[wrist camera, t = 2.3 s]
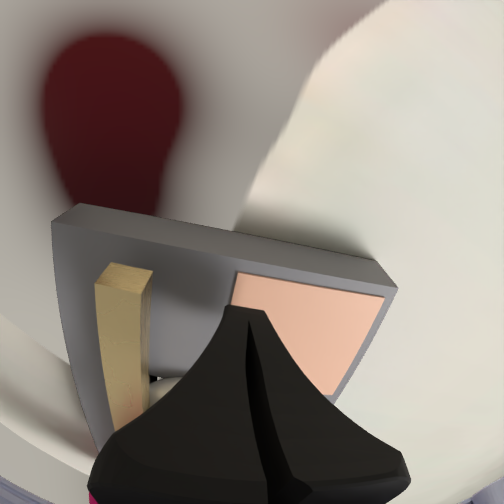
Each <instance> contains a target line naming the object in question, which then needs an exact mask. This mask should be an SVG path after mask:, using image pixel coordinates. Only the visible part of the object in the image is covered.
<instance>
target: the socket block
mask: <svg viewBox="0 0 504 504" xmlns="http://www.w3.org/2000/svg"><path fill="white" fill-rule="evenodd" d="M51 229H52V247H53V261H54V271H55V281H56V290H57V296H58V304H59V311H60V317H61V323H62V328H63V333H64V338H65V343H66V348H67V353H68V356H69V361H70V365H71V369H72V373H73V377H74V381H75V385H76V388H77V392H78V395H79V398H80V402H81V405H82V408H83V411H84V414H85V417H86V420H87V423H88V426H89V429H90V432H91V434H92V437H93V440H94V442H95V445H96V447H97V450H98V452H99V453H100V451H101V449H102V448H103V446H104V445H105V443H106V442H107V440H108V439H109V438H110V436H111V435H112V434H113V433H114V432H115V429H114V424H113V420H112V415H111V411H110V406H109V401H108V396H107V390H106V385H105V379H104V373H103V366H102V359H101V352H100V344H99V335H98V325H97V314H96V301H95V282H96V281H97V279H98V278H99V277H100V275H101V274H102V273H103V272H104V270H105V269H106V268H107V267H108V265H109V264H110V263H111V262H113V263H118V264H122V265H127V266H131V267H136V268H141V269H145V270H150V271H153V278H152V293H151V312H150V342H149V384H151V383H153V382H155V381H157V377H161V378H174V377H183V376H184V375H185V374H186V373H187V372H188V370H189V369H190V368H191V367H192V366H193V364H194V363H195V362H196V361H197V359H198V358H199V357H200V355H201V354H202V352H203V351H204V349H205V348H206V346H207V345H208V344H209V342H210V340H211V339H212V337H213V335H214V333H215V331H216V330H217V328H218V326H219V324H220V321H221V319H222V316H223V311H224V307H225V306H226V305H228V304H230V305H236V306H241V307H247V308H253V309H259V310H264V311H265V313H266V314H267V316H268V318H269V320H270V321H271V323H272V325H273V327H274V329H275V330H276V332H277V334H278V336H279V337H280V339H281V341H282V342H283V344H284V345H285V347H286V349H287V350H288V352H289V353H290V355H291V356H292V358H293V359H294V361H295V362H296V363H297V365H298V366H299V367H300V369H301V370H302V371H303V373H304V374H305V375H306V376H307V378H308V379H309V380H310V381H311V382H312V383H313V384H314V386H315V387H316V388H317V389H318V390H319V391H320V392H321V393H322V394H323V395H324V396H325V397H326V398H327V399H328V400H329V401H330V402H331V403H332V404H333V405H334V403H335V402H336V400H337V399H338V397H339V396H340V394H341V392H342V391H343V389H344V388H345V386H346V384H347V383H348V381H349V380H350V378H351V376H352V375H353V373H354V371H355V370H356V368H357V366H358V365H359V363H360V361H361V359H362V358H363V356H364V354H365V352H366V351H367V349H368V347H369V345H370V344H371V342H372V340H373V338H374V336H375V334H376V332H377V331H378V329H379V327H380V325H381V323H382V321H383V319H384V317H385V315H386V313H387V311H388V309H389V307H390V305H391V303H392V301H393V299H394V297H395V295H396V293H397V290H398V287H397V286H396V284H395V283H394V282H393V281H392V279H391V278H390V277H389V276H388V274H387V273H386V272H385V271H384V269H383V268H382V267H381V266H380V265H379V263H378V262H377V261H373V260H369V259H364V258H360V257H355V256H350V255H346V254H341V253H336V252H331V251H327V250H322V249H317V248H312V247H308V246H303V245H298V244H293V243H288V242H283V241H278V240H273V239H268V238H264V237H259V236H254V235H249V234H244V233H238V232H233V231H228V230H223V229H218V228H213V227H207V226H203V225H197V224H192V223H187V222H182V221H176V220H171V219H166V218H161V217H155V216H150V215H144V214H139V213H133V212H128V211H123V210H117V209H112V208H106V207H100V206H95V205H89V204H83V203H79V204H77V205H76V206H74V207H72V208H71V209H69V210H68V211H66V212H65V213H63V214H62V215H60V216H59V217H57V218H56V219H54V220H53V221H51Z"/></svg>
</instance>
